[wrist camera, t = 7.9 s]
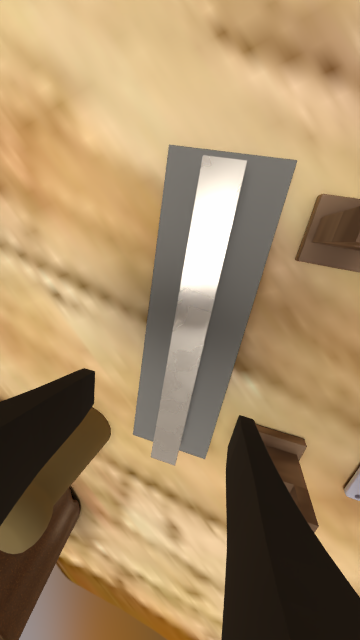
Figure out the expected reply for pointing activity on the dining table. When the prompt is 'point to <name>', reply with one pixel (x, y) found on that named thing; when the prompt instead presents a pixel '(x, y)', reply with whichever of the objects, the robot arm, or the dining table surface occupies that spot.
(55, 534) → the plant pot
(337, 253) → the cradle rack
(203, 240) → the steel rail
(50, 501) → the cork
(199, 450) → the long grey plate
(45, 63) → the dining table surface
